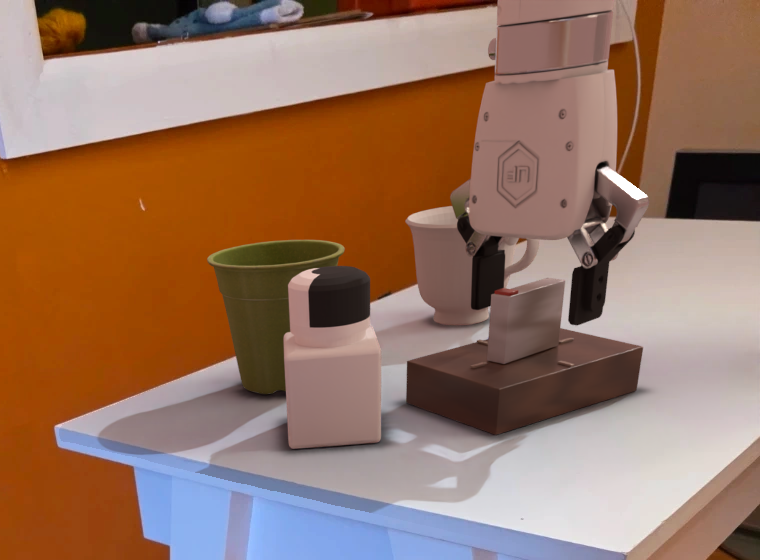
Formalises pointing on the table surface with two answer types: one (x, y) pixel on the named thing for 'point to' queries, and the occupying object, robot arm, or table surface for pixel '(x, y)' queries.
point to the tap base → (522, 381)
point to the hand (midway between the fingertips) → (533, 313)
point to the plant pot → (264, 301)
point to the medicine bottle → (331, 360)
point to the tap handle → (525, 320)
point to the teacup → (453, 265)
